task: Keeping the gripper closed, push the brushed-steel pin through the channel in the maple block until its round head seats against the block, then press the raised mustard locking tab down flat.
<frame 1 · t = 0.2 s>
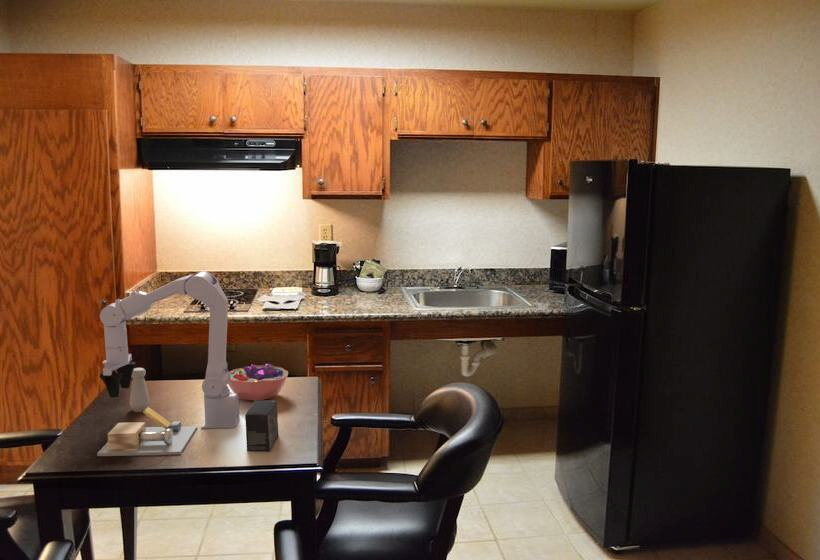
hand: (120, 392, 190), 10 cm above the table, tool pointing down, fingers open, 7 cm apart
board: (149, 441, 181), on the table
pin: (147, 436, 177), point 3 cm above the table, slide at 0.0 cm
cell model: (257, 398, 215), on the table
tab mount: (176, 432, 187), resting on board
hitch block: (128, 447, 177), resting on board
small box: (262, 444, 180), on the table
salt shaker: (140, 410, 204), on the table
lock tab: (158, 418, 186), point 4 cm above the table, hinge at 40.0°
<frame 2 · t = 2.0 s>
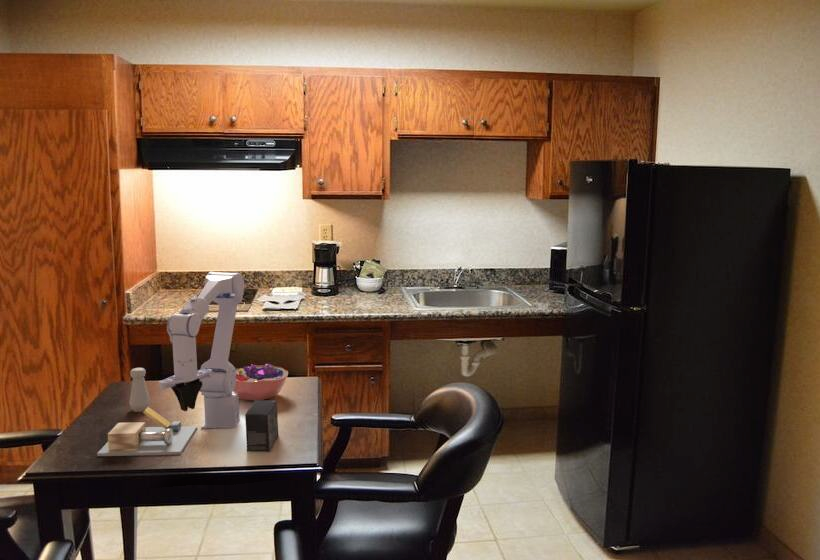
hand: (187, 409, 176), 10 cm above the table, tool pointing down, fingers closed
nothing on the table moved.
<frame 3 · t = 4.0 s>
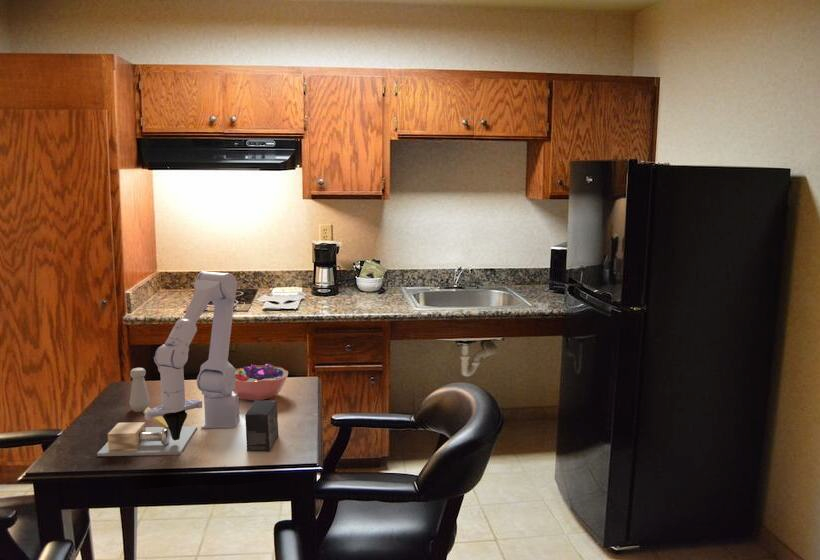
hand: (175, 438, 177), 2 cm above the table, tool pointing down, fingers closed
pin: (144, 436, 177), point 3 cm above the table, slide at 0.8 cm, touching gripper
everything else where it was.
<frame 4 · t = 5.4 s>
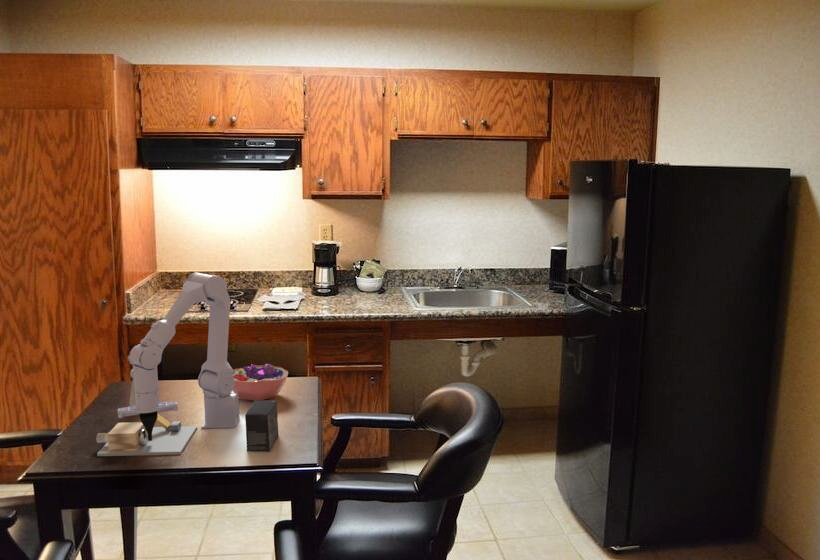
hand: (150, 439, 177), 2 cm above the table, tool pointing down, fingers closed
pin: (121, 437, 176), point 3 cm above the table, slide at 6.5 cm, touching gripper, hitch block
everything else where it was.
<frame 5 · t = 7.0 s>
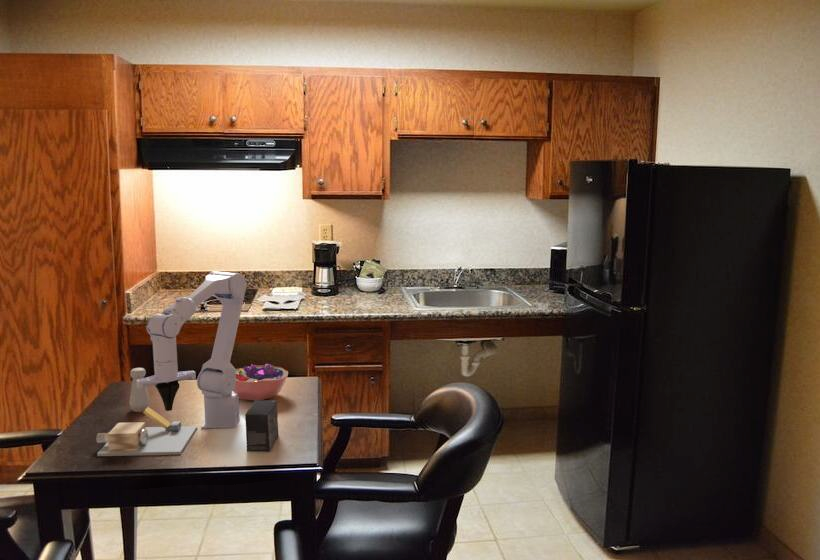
hand: (168, 409, 176), 10 cm above the table, tool pointing down, fingers closed
pin: (121, 437, 176), point 3 cm above the table, slide at 6.5 cm, touching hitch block
everything else where it was.
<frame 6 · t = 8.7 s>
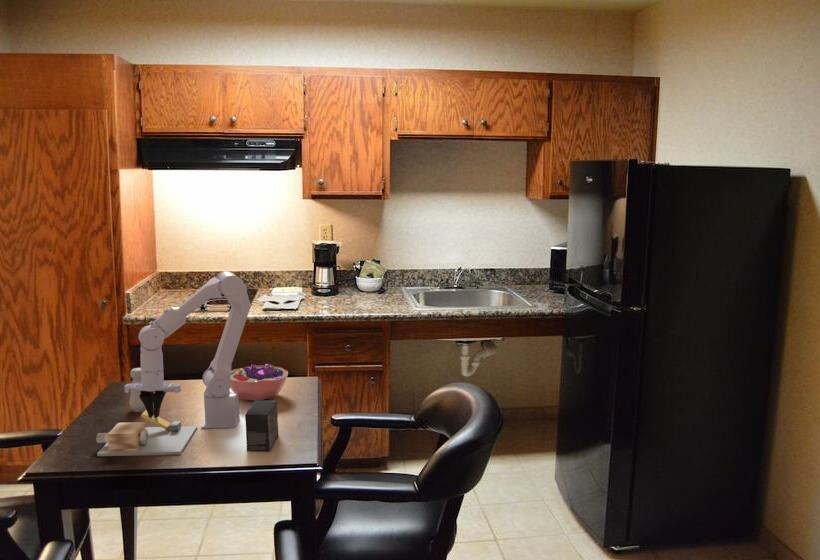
hand: (154, 416, 186), 5 cm above the table, tool pointing down, fingers closed
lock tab: (156, 420, 186), point 4 cm above the table, hinge at 31.2°, touching gripper
everything else where it was.
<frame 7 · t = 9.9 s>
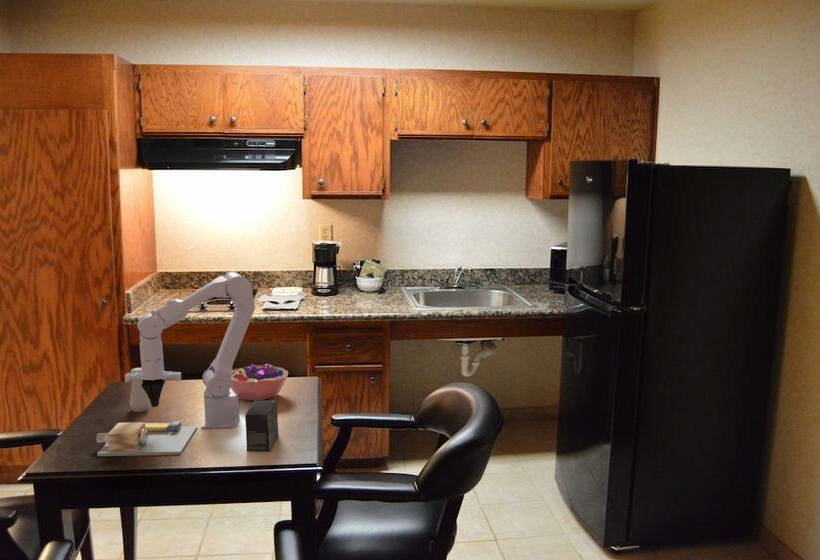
hand: (155, 405, 185), 8 cm above the table, tool pointing down, fingers closed
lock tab: (155, 426, 186), point 2 cm above the table, hinge at 1.9°
everything else where it was.
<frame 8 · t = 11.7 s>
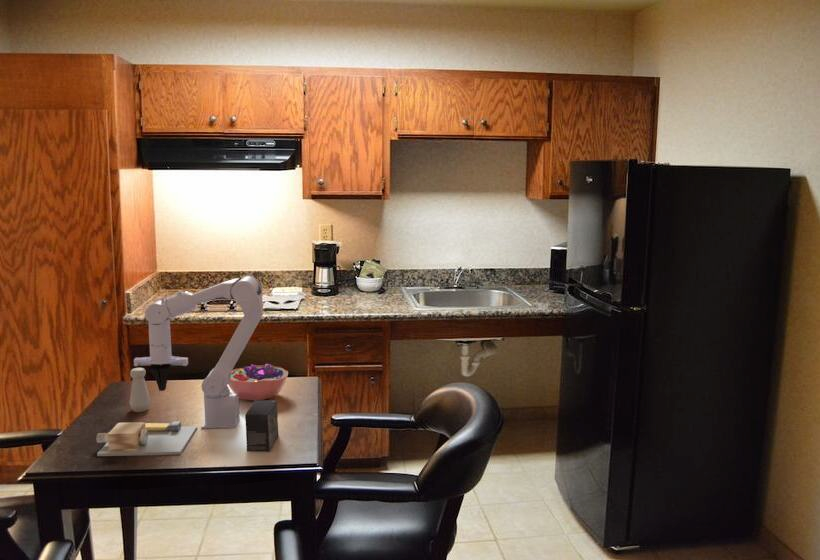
hand: (162, 389, 191), 10 cm above the table, tool pointing down, fingers closed
nothing on the table moved.
at the end: pin slide at 6.5 cm; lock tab at +2° (first picture: +40°); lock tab touching nothing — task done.
